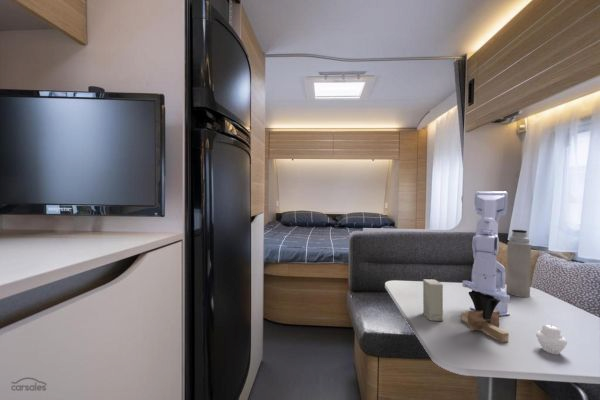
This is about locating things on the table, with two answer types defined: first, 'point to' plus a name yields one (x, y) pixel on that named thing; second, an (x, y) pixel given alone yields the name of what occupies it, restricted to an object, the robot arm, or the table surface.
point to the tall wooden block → (481, 319)
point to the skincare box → (433, 299)
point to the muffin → (551, 339)
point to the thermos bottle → (518, 264)
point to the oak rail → (490, 329)
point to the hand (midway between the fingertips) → (483, 317)
